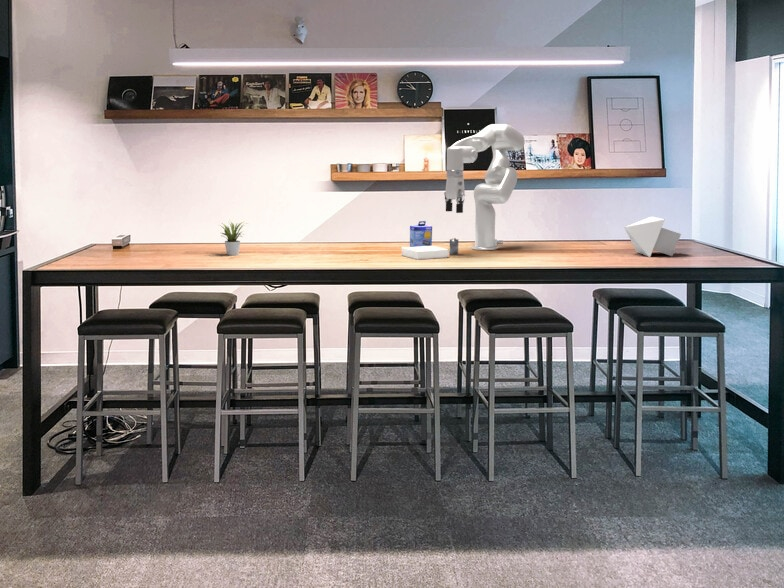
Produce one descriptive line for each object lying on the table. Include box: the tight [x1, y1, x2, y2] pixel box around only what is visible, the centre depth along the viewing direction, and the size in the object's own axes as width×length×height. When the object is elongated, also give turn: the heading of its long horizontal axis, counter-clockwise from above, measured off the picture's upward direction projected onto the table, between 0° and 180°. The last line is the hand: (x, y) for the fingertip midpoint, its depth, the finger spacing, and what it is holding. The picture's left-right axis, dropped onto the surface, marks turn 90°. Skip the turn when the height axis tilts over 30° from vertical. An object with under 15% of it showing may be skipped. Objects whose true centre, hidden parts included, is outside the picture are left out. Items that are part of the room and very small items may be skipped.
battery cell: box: [449, 237, 459, 256], centre depth 371 cm, size 4×4×8 cm
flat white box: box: [401, 245, 450, 261], centre depth 365 cm, size 16×16×4 cm
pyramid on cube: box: [623, 215, 682, 258], centre depth 369 cm, size 17×24×18 cm
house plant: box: [219, 220, 249, 256], centre depth 371 cm, size 14×14×16 cm
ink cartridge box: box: [409, 220, 433, 247], centre depth 383 cm, size 10×6×14 cm, turn 115°
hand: (454, 212), depth 368 cm, fingers open, 9 cm apart
